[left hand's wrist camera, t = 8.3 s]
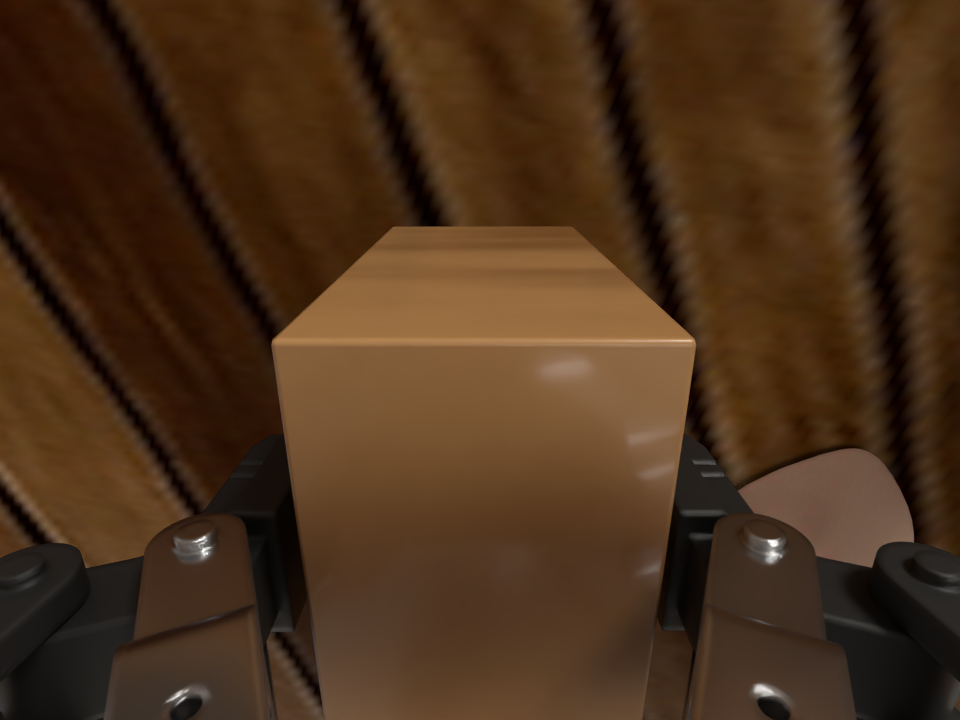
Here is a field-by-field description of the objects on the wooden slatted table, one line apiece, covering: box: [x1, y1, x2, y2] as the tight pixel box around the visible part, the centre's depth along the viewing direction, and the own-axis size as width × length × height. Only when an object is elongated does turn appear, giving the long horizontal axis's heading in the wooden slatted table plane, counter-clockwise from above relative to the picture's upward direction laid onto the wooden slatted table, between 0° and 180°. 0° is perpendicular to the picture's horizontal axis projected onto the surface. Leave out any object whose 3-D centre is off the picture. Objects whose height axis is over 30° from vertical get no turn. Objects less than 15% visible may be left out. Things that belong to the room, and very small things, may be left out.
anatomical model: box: [738, 448, 914, 568], centre depth 27 cm, size 13×4×12 cm
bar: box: [271, 227, 696, 720], centre depth 15 cm, size 24×5×10 cm, turn 0°
